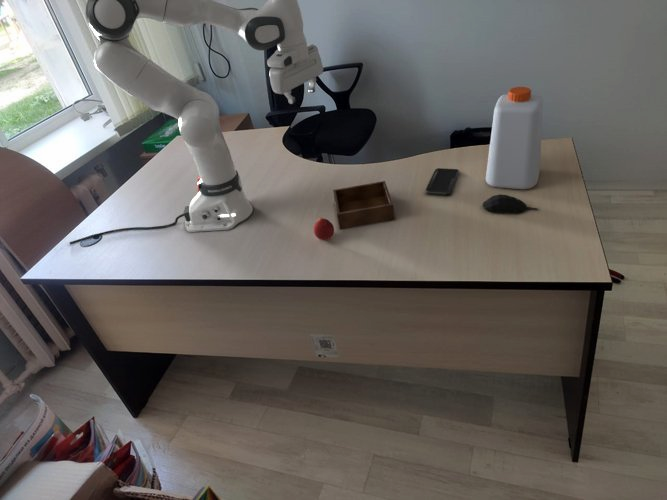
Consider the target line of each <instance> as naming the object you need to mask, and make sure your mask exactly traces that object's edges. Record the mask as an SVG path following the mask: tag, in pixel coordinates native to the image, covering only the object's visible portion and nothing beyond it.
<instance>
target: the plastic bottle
mask: <svg viewBox="0 0 667 500" xmlns="http://www.w3.org/2000/svg"><path fill="white" fill-rule="evenodd" d="M543 104H544V100H543V97H542V96H541V95H540V94H537V93H532V89H531V88H529V87H527V86H516V87H512V88H510V89H509V90H508V92H507V93H504V94H502V95H500V96H499V98H498V100H497V102H496V104H495V106H494V110H493V118H492V124H491V132H490V133H491V134H490V140H489V148H488V156H487V165H486V173H485V182H486V184H488V185H489V186H491V187H492V188H498V189H509V190H510V189H511V190H529V189H532V188H534V187H536V185H537V184H538V181H539V177H540V173H541V158H542V157H541V154H542V133H543V131H542V130H543V129H542V128H543V107H544V106H543Z"/></svg>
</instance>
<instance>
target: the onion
mask: <svg viewBox="0 0 667 500" xmlns="http://www.w3.org/2000/svg"><path fill="white" fill-rule="evenodd" d="M313 233H314V235H315V237H316V238H317V239H318V240H320V241H325V242H326V241H328V240H330V239H331V238H332V237H333V236H334V233H335V226H334V224H333V223H332V221H330V220H329V219H327V218H323V217H322V216H319V217H318V220H317V221H316V222H315V223H314V225H313Z"/></svg>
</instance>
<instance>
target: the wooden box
mask: <svg viewBox="0 0 667 500" xmlns="http://www.w3.org/2000/svg"><path fill="white" fill-rule="evenodd" d="M332 192H333V197H334V198H333V199H334V204H335V211H336V217H337V223H338V228H339V230H345V229H349V228H355V227H357V228H358V227H362V226H368V225H373V224H378V223H385V222H391V221H395V219H396V218H395V209H394V203H393V199H392V197H391V194H390V190H389V189H388V186H387V183H386V181H385V180H382V181H381V180H380V181H376V182H369V183H364V184H359V185H354V186H347V187H341V188H336V189H335V188H334V189H332Z"/></svg>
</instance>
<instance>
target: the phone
mask: <svg viewBox="0 0 667 500" xmlns="http://www.w3.org/2000/svg"><path fill="white" fill-rule="evenodd" d="M459 175H460V170H459V169H458V168H445V167H443V168H441V167H438V168H437V167H436V169H435V170H434V172H433V173H432V176H431V177H430V180H429V182H428V184H427V186H426V189H425V194H426V195H431V196H442V197H443V196H444V197H448V196H451V195H452V192H453V190H454V187H455V184H456V182H457V180H458V178H459Z"/></svg>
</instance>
